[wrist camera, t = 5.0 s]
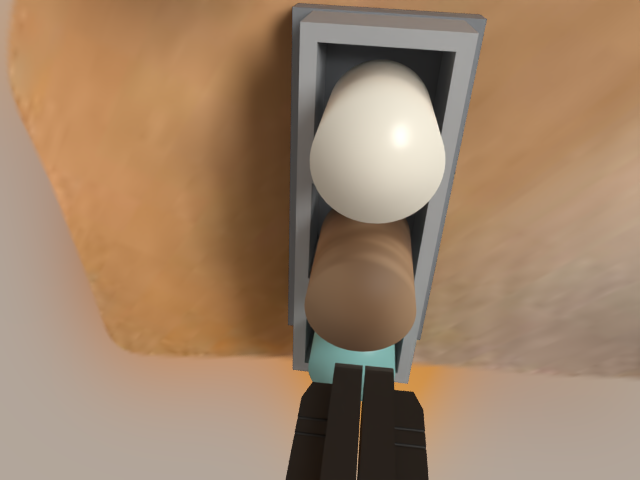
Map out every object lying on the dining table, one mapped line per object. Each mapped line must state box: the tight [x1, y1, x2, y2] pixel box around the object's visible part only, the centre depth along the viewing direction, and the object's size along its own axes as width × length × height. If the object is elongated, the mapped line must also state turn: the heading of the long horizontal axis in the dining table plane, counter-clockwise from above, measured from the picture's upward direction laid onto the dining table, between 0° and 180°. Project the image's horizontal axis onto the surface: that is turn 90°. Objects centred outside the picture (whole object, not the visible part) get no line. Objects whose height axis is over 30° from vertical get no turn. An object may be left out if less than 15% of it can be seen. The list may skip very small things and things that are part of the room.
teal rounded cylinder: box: [308, 332, 395, 401], centre depth 30 cm, size 5×5×6 cm
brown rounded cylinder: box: [304, 208, 416, 352], centre depth 24 cm, size 5×5×6 cm
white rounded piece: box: [310, 60, 445, 224], centre depth 21 cm, size 5×5×6 cm
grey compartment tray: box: [288, 3, 487, 383], centre depth 30 cm, size 10×22×6 cm, turn 177°
